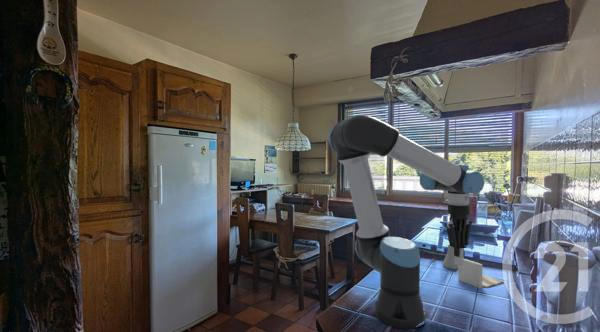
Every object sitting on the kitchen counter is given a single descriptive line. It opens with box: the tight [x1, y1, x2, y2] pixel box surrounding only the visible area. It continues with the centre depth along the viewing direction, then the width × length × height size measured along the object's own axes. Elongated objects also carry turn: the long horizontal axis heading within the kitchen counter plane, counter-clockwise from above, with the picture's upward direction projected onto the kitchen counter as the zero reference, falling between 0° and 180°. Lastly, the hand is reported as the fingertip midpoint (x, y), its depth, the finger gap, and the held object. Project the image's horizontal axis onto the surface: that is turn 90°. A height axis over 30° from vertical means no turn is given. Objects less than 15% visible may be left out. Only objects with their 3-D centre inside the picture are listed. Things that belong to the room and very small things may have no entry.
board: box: [482, 273, 504, 289], centre depth 118 cm, size 11×11×1 cm
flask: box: [442, 244, 458, 270], centre depth 134 cm, size 7×7×10 cm
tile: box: [457, 257, 483, 289], centre depth 115 cm, size 2×9×9 cm, turn 25°
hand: (459, 264), depth 112 cm, fingers closed
